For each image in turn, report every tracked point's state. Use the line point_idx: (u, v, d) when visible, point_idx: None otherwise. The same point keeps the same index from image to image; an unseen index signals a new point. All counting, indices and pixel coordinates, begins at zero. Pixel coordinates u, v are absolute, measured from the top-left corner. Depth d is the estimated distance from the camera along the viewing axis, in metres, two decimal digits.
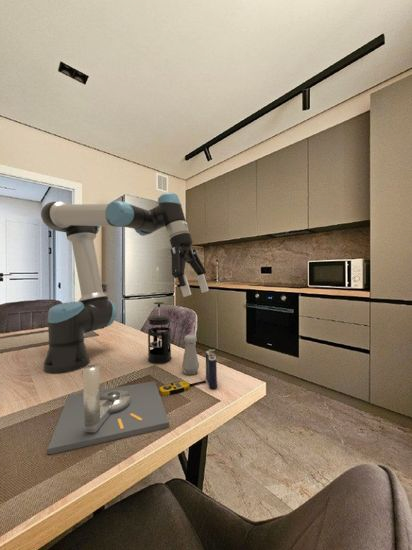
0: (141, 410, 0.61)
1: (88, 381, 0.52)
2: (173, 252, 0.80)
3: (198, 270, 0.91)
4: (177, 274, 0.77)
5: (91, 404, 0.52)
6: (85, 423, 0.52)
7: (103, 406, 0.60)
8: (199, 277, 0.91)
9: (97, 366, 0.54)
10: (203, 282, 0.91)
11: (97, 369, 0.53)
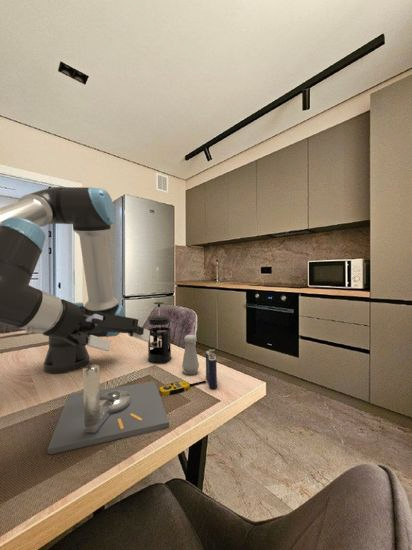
0: (141, 410, 0.61)
1: (88, 381, 0.52)
2: None
3: None
4: None
5: (91, 404, 0.52)
6: (85, 423, 0.52)
7: (103, 406, 0.60)
8: None
9: (97, 366, 0.54)
10: None
11: (97, 369, 0.53)
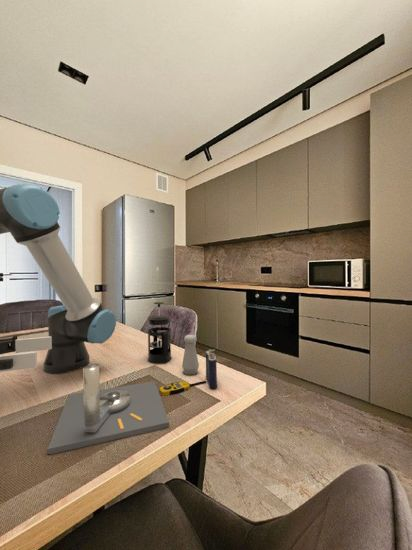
0: (141, 410, 0.61)
1: (88, 381, 0.52)
2: None
3: None
4: None
5: (91, 404, 0.52)
6: (85, 423, 0.52)
7: (103, 406, 0.60)
8: None
9: (97, 366, 0.54)
10: None
11: (97, 369, 0.53)
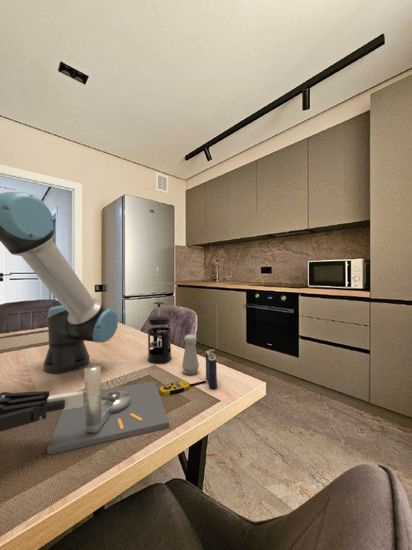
0: (141, 410, 0.61)
1: (90, 381, 0.52)
2: None
3: None
4: None
5: (93, 404, 0.52)
6: (87, 423, 0.52)
7: (103, 406, 0.60)
8: None
9: (98, 366, 0.54)
10: None
11: (99, 369, 0.53)
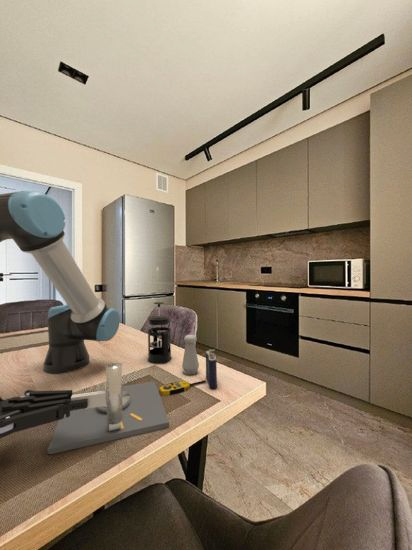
0: (141, 410, 0.61)
1: (116, 378, 0.53)
2: None
3: None
4: None
5: (118, 400, 0.53)
6: (111, 421, 0.53)
7: None
8: None
9: (119, 364, 0.55)
10: None
11: (121, 366, 0.54)
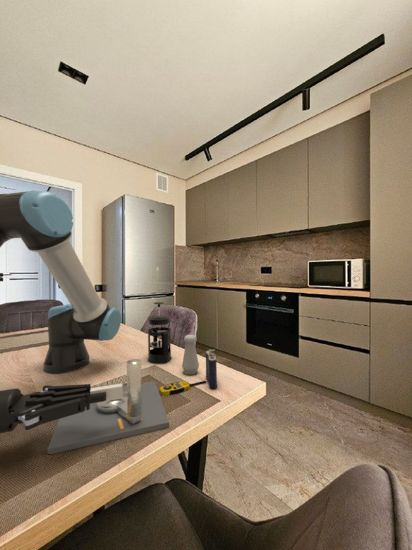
0: None
1: (139, 372, 0.56)
2: None
3: None
4: None
5: (140, 393, 0.56)
6: (135, 414, 0.55)
7: (119, 404, 0.60)
8: None
9: (136, 359, 0.58)
10: None
11: None
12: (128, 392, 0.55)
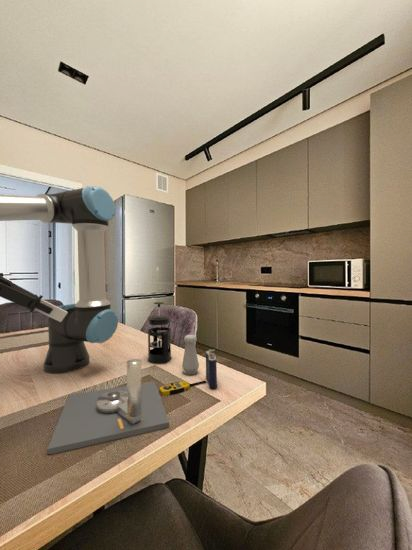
0: None
1: (139, 372, 0.56)
2: None
3: None
4: None
5: (140, 393, 0.56)
6: (135, 414, 0.55)
7: (119, 404, 0.60)
8: None
9: (136, 359, 0.58)
10: None
11: None
12: (128, 392, 0.55)
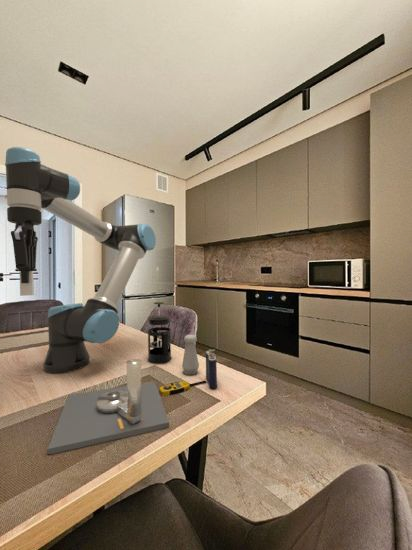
0: None
1: (139, 372, 0.56)
2: None
3: None
4: None
5: (140, 393, 0.56)
6: (135, 414, 0.55)
7: (119, 404, 0.60)
8: None
9: (136, 359, 0.58)
10: None
11: None
12: (128, 392, 0.55)
